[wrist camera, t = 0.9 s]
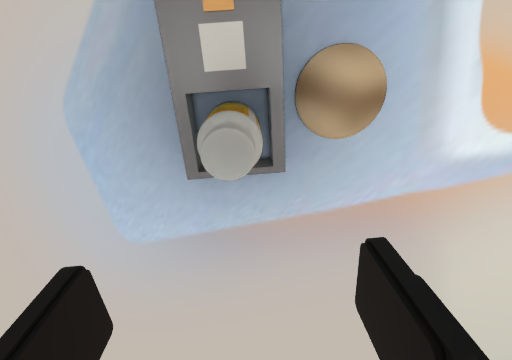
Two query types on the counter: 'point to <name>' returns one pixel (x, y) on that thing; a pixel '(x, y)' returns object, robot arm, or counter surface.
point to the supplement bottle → (230, 141)
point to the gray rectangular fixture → (223, 64)
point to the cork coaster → (340, 90)
